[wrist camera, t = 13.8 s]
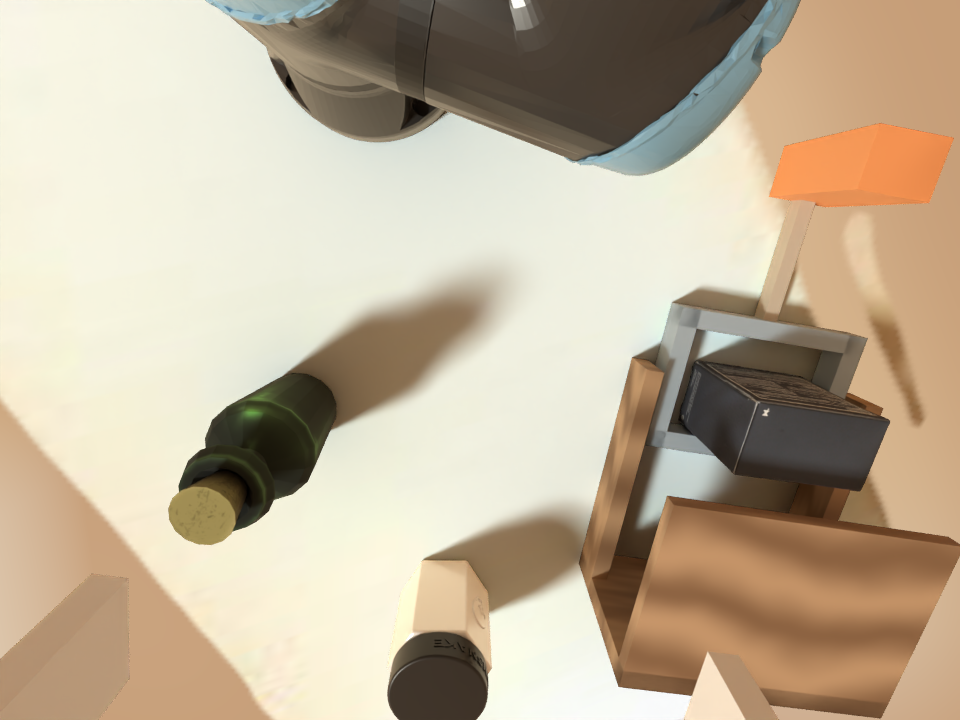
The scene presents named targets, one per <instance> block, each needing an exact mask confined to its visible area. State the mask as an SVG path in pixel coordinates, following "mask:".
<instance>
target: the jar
mask: <svg viewBox="0 0 960 720" xmlns="http://www.w3.org/2000/svg"><path fill="white" fill-rule="evenodd" d="M491 669H492V662H491V642H490V621H489V601H488V592H487V590H486V589H485V587H484V586H483V584H482V583H481V581H480V580H479V578H478V577H477V575H476V574H475V572H474V571H473V569H472V567H471V566H470V564H469V563H468V561H466V560H423V561H421V563H420V564H419V566H418V567H417V569H416V570H415V572H414V573H413V575H412V576H411V578H410V579H409V581H408V583H407V584H406V586H405V587H404V589H403V590H402V592H401V595H400V600H399V605H398V611H397V616H396V621H395V627H394V632H393V638H392V643H391V648H390V654H389V659H388V665H387V670H388V671H389V672H390V679H389V685H388V692H387V696H388V702H389V706H390V708H391V710H392V712H393V713H394V715H395V716H396V717H397V718H398V719H399V720H476V719H477V718H478V717H479V716H480V715H481V713H482V712H483V710H484V708H485V706H486V702H487V697H488V673H489V672H490V670H491Z"/></svg>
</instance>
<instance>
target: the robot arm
mask: <svg viewBox="0 0 960 720" xmlns="http://www.w3.org/2000/svg"><path fill="white" fill-rule="evenodd" d="M206 1H207V2H208V3H209V4H211V5H213V6H216V7H218V8H219V9H220V10H221V11H222V12H223V13H225V14H227V15H229V16H230V17H231V18H232V19H234V20H235V21H236V22H237V23H238V24H240V25H241V26H242V27H243V28H244V29H246V30H247V31H248V32H249V33H250V34H252V35H253V36H254V37H255V38H256V39H257V40H259V41H260V42H261V43H262V44H263V45H265V46H266V48H267V51H268V54H269V57H270V59H271V62H272V65H273V67H274V69H275V71H276V73H277V75H278V77H279V78H280V80H281V82H282V83H283V85H284V87H285V88H286V89H287V91H288V92H289V94H290V95H291V96H292V97H293V99H294V100H295V101H296V102H297V103H298V104H299V105H300V106H301V107H302V108H303V109H304V110H305V111H306V112H307V113H308V114H309V115H311V116H312V117H313V118H315V119H316V120H317V121H319V122H320V123H322V124H323V125H325V126H326V127H328V128H330V129H331V130H333V131H335V132H337V133H339V134H341V135H344V136H346V137H349V138H352V139H356V140H360V141H367V142H390V141H395V140H400V139H403V138H406V137H409V136H412V135H414V134H416V133H418V132H420V131H422V130H423V129H425V128H426V127H428V126H429V125H431V124H432V123H433V122H434V121H436V120H437V119H438V118H439V117H440V116H441V115H442V114H443V113H444V112H445V111H448V112H450V113H453V114H455V115H458V116H461V117H463V118H466V119H468V120H471V121H474V122H476V123H479V124H481V125H484V126H486V127H489V128H492V129H494V130H497V131H499V132H502V133H505V134H507V135H510V136H512V137H515V138H517V139H520V140H523V141H525V142H528V143H530V144H533V145H535V146H538V147H541V148H543V149H546V150H548V151H551V152H554V153H556V154H559V155H561V156H564V157H565V158H566V159H567V160H569V161H570V162H573V163H578V164H580V165H595V166H598V167H601V168H605V169H608V170H611V171H614V172H618V173H621V174H624V175H631V176H641V175H648V174H651V173H655V172H658V171H660V170H663V169H665V168H667V167H669V166H671V165H672V164H674V163H676V162H677V161H679V160H680V159H682V158H683V157H685V156H686V155H688V154H689V153H690V152H691V151H693V150H694V149H695V148H696V147H697V146H699V145H700V144H701V143H702V142H703V141H704V140H705V139H706V138H707V137H708V136H709V135H710V134H711V133H713V132H714V130H715V129H716V128H717V127H718V126H719V125H720V124H721V123H722V122H723V121H724V120H725V119H726V118H727V117H728V115H729V114H730V113H731V112H732V111H733V110H734V108H735V107H736V106H737V105H738V104H739V102H740V101H741V100H742V99H743V97H744V96H745V95H746V93H747V92H748V91H749V89H750V88H751V86H752V85H753V84H754V82H755V81H756V79H757V78H758V76H759V75H760V73H761V72H762V69H761V67H760V65H761V62H762V59H763V57H764V56H765V55H766V54H767V53H768V52H769V51H770V50H771V49H772V48H774V47H775V46H776V45H777V44H778V43H779V42H780V41H781V39H782V38H783V36H784V34H785V32H786V30H787V28H788V27H789V25H790V23H791V21H792V18H793V17H794V15H795V13H796V10H797V8H798V6H799V3H800V1H801V0H206ZM128 597H129V595H128V578H123V577H114V576H106V575H99V574H91V575H90V576H89V577H88V578H87V579H85V580H84V582H82V583H81V584H80V585H79V586H78V587H77V588H76V589H75V590H74V591H73V592H71V594H69V595H68V596H67V597H66V598H65V599H64V600H63V601H62V602H61V603H60V604H59V605H58V606H56V607H55V608H54V609H53V610H52V611H51V612H50V613H49V614H48V615H47V616H46V617H45V618H44V619H43V620H42V621H40V622H39V623H38V624H37V625H36V626H35V627H34V628H33V629H32V630H31V631H30V632H29V633H27V635H25V637H23V638H22V639H21V640H20V641H19V642H18V643H17V644H16V645H15V646H14V647H12V648H11V649H10V650H9V651H8V652H7V653H6V654H5V655H4V656H3V657H2V658H1V659H0V720H99V719H100V718H101V716H102V715H103V714H104V712H105V711H106V710H107V708H108V707H109V705H110V704H111V703H112V702H113V700H114V699H115V697H116V696H117V695H118V693H119V692H120V691H121V689H122V688H123V687H124V685H125V684H126V683H127V681H128V680H129V677H130V675H129V598H128ZM684 720H779V719H778V717H777V716H776V714H775V713H774V711H773V710H772V708H771V706H770V704H769V703H768V701H767V700H766V698H765V696H764V695H763V693H762V692H761V690H760V688H759V687H758V685H757V684H756V682H755V680H754V679H753V677H752V675H751V674H750V672H749V671H748V669H747V667H746V666H745V664H744V663H743V661H742V659H741V658H740V656H739V655H732V654H724V653H716V652H707V655H706V658H705V661H704V663H703V666H702V669H701V672H700V675H699V677H698V680H697V683H696V686H695V689H694V692H693V694H692V697H691V700H690V703H689V706H688V709H687V711H686V714H685V717H684Z"/></svg>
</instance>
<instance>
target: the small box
mask: <svg viewBox="0 0 960 720" xmlns="http://www.w3.org/2000/svg"><path fill="white" fill-rule="evenodd" d="M679 421H680V422H681V423H682V424H683V425H684V426H685V427H686V428H687V429H688V430H690V431H691V432H692V433H693V434H694V435H695V436H696V437H697V438H698V439H699V440H700V441H701V442H702V443H703V444H704V445H705V446H706V447H707V448H708V449H709V450H710V451H711V452H712V453H713V454H714V455H715V456H716V457H717V458H718V459H719V460H720V461H721V462H722V463H723V464H724V465H725V466H727V468H728V469H729V470H730V471H731V472H732V473H733V474H735V475H742V476H750V477H757V478H765V479H773V480H780V481H788V482H795V483H803V484H810V485H817V486H824V487H831V488H838V489H846V490H852V491H860V490H861V489H862V487H863V485H864V483H865V481H866V478H867V476H868V474H869V471H870V469H871V466H872V464H873V461H874V459H875V457H876V454H877V452H878V449H879V447H880V445H881V442H882V440H883V437H884V435H885V432H886V430H887V428H888V426H889V424H890V421H889V420H888V419H886V418H884V417H882V416H879V415H877V414H875V413H872V412H870V411H867V410H865V409H863V408H861V407H859V406H857V405H855V404H853V403H851V402H849V401H847V400H845V399H843V398H841V397H839V396H837V395H835V394H833V393H831V392H829V391H827V390H825V389H823V388H821V387H819V386H817V385H816V384H813V383H812V382H810V381H808V380H806V379H805V378H803V377H801V376H794V375H788V374H782V373H775V372H769V371H763V370H756V369H750V368H744V367H739V366H731V365H725V364H718V363H711V362H704V361H698V360H697V361H696V362H695V363H694V366H693V369H692V374H691V376H690V381H689V385H688V388H687V392H686V394H685V398H684V402H683V403H682V407H681V412H680V416H679Z"/></svg>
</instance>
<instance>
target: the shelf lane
mask: <svg viewBox="0 0 960 720" xmlns="http://www.w3.org/2000/svg"><path fill="white" fill-rule="evenodd" d="M663 376H664V372H663V371H661V370H660V369H659V368H657V367H656V366H655V365H654V364H652V363H651V362H650V361H648V360H644V359H638V358H632V360H631V364H630V368H629V372H628V376H627V379H626V383H625V387H624V391H623V395H622V399H621V403H620V407H619V410H618V414H617V418H616V422H615V426H614V430H613V434H612V438H611V441H610V445H609V449H608V453H607V457H606V461H605V465H604V469H603V472H602V476H601V480H600V484H599V488H598V492H597V496H596V499H595V503H594V507H593V511H592V515H591V519H590V523H589V527H588V530H587V534H586V538H585V542H584V546H583V550H582V554H581V558H580V561H579V565H580V568H581V571H582V574H583V577H584V580H585V583H586V587H587V590H588V593H589V596H590V599H591V602H592V605H593V608H594V612H595V615H596V618H597V621H598V624H599V627H600V630H601V633H602V637H603V640H604V643H605V646H606V649H607V652H608V655H609V658H610V662H611V665H612V668H613V671H614V674H615V677H616V680H617V683H618V687H623V688H632V689H640V690H648V691H657V692H665V693H673V694H682V695H690V696H692V694H693V692H694V689H695V686H696V683H697V680H698V677H699V675H700V672H701V669H702V666H703V663H704V661H705V658H706V655H707V652H716V653H724V654H732V655H739V656H740V658H741V659H742V661H743V663H744V664H745V666H746V667H747V669H748V671H749V672H750V674H751V675H752V677H753V679H754V680H755V682H756V684H757V685H758V687H759V688H760V690H761V692H762V693H763V695H764V696H765V698H766V700H767V701H768V703H769V704H770V705H773V706H782V707H790V708H798V709H806V710H815V711H824V712H831V713H840V714H848V715H856V716H865V717H873V718H881V717H882V715H883V713H884V711H885V709H886V707H887V705H888V703H889V701H890V699H891V697H892V695H893V693H894V691H895V688H896V686H897V684H898V682H899V680H900V678H901V676H902V674H903V672H904V670H905V668H906V666H907V664H908V662H909V659H910V657H911V656H912V653H913V651H914V649H915V647H916V645H917V643H918V641H919V639H920V637H921V635H922V633H923V631H924V629H925V627H926V624H927V623H928V620H929V618H930V616H931V614H932V612H933V610H934V608H935V606H936V604H937V602H938V600H939V598H940V596H941V593H942V591H943V590H944V587H945V585H946V583H947V581H948V579H949V577H950V575H951V573H952V571H953V569H954V567H955V565H956V563H957V560H958V558H959V556H960V544H958V543H957V542H955V541H954V540H952V539H951V538H949V537H945V536H939V535H932V534H925V533H918V532H911V531H905V530H898V529H891V528H884V527H877V526H871V525H864V524H857V523H850V522H843V521H838V520H839V517H840V515H841V512H842V510H843V507H844V505H845V502H846V500H847V497H848V495H849V492H850V490H846V489H838V488H831V487H824V486H817V485H810V484H803V483H800V484H799V487H798V490H797V492H796V495H795V498H794V500H793V503H792V506H791V508H790V511H789V514H788V513H781V512H775V511H768V510H761V509H754V508H747V507H740V506H734V505H727V504H720V503H713V502H706V501H699V500H692V499H686V498H679V497H672V496H667V498H666V502H665V505H664V508H663V512H662V515H661V518H660V522H659V525H658V528H657V532H656V535H655V538H654V542H653V545H652V548H651V552H650V555H649V558H648V560H646V559H639V558H632V557H625V556H617V555H614V553H615V549H616V545H617V542H618V538H619V535H620V531H621V527H622V524H623V520H624V517H625V513H626V509H627V506H628V502H629V499H630V495H631V491H632V488H633V484H634V481H635V477H636V473H637V470H638V466H639V463H640V459H641V455H642V452H643V448H644V445H645V441H646V437H647V434H648V430H649V427H650V423H651V419H652V416H653V412H654V409H655V405H656V401H657V398H658V394H659V391H660V387H661V383H662V380H663ZM845 400H847V401H849V402H851V403H853V404H855V405H857V406H859V407H861V408H863V409H865V410H867V411H870V412H872V413H875V414H877V415H879V416H880V415H881V413H882V410H883V408H881V407H879V406H877V405H874V404H873V403H870V402H868V401H866V400H864V399H861V398H859V397H857V396H855V395H853V394H850V393H847V394H846V397H845Z"/></svg>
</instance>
